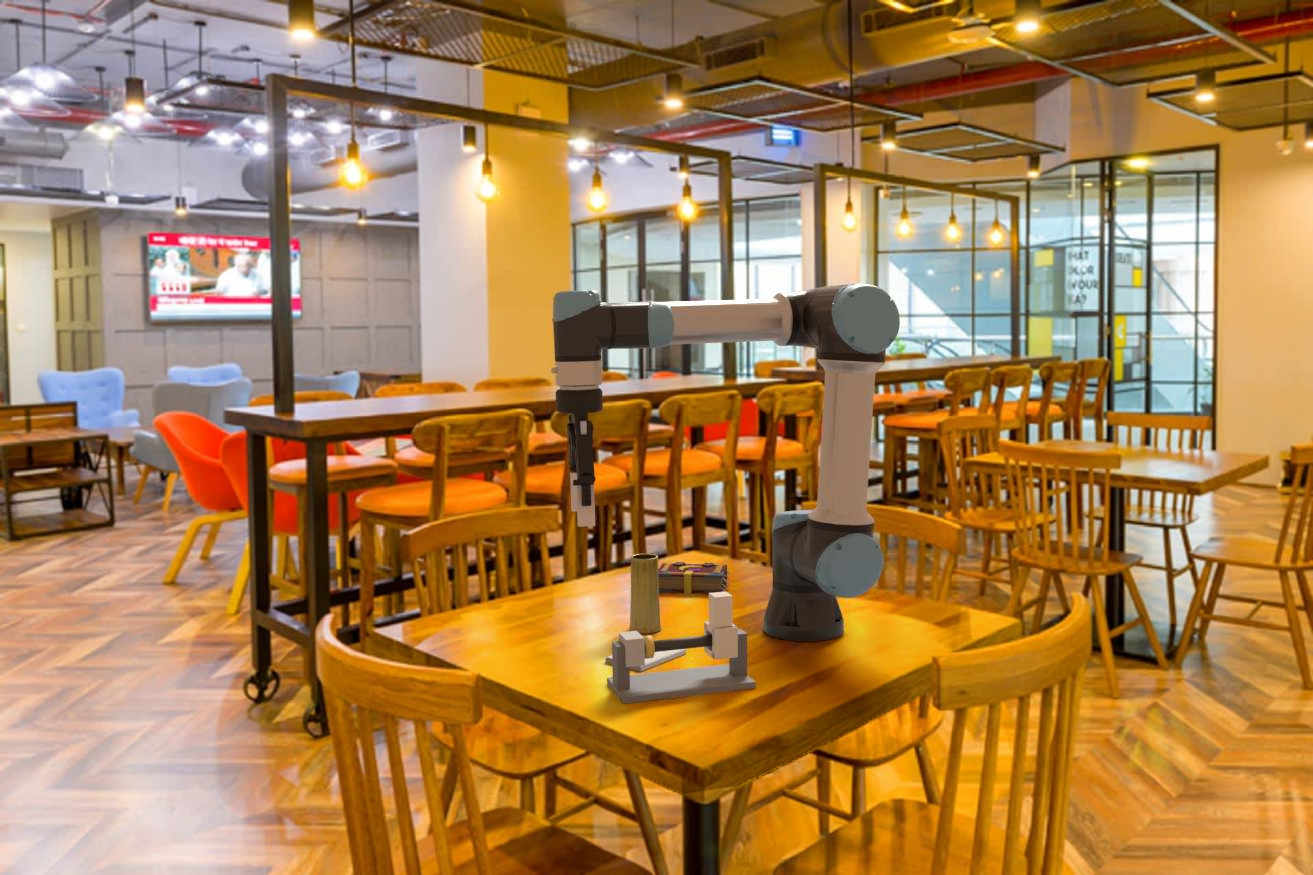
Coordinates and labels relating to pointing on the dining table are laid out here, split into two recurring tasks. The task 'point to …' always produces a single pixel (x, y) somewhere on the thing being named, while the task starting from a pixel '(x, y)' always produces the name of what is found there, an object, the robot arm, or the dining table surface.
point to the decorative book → (692, 578)
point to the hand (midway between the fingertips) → (582, 518)
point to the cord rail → (673, 682)
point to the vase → (644, 594)
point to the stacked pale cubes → (721, 627)
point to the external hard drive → (655, 659)
